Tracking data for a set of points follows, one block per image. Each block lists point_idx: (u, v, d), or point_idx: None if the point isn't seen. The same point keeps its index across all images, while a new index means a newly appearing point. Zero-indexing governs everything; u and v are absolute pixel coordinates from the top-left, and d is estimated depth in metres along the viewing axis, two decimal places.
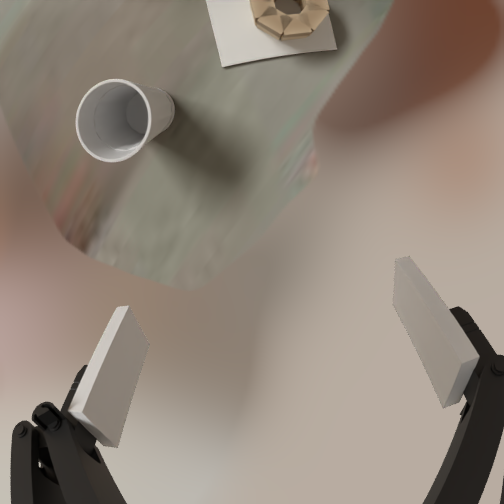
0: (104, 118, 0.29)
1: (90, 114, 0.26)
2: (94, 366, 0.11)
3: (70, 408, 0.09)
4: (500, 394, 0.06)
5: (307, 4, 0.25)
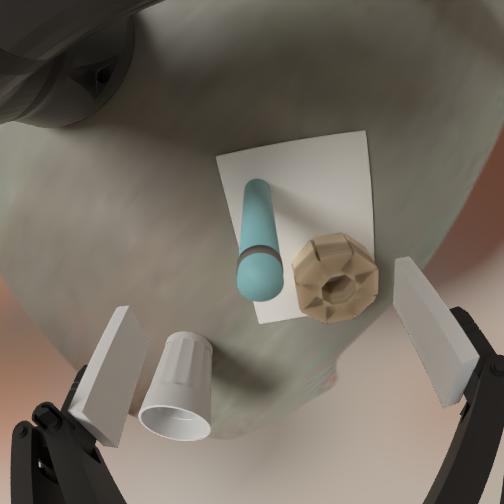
0: None
1: None
2: (94, 366, 0.11)
3: (70, 408, 0.09)
4: (500, 394, 0.06)
5: (356, 291, 0.30)
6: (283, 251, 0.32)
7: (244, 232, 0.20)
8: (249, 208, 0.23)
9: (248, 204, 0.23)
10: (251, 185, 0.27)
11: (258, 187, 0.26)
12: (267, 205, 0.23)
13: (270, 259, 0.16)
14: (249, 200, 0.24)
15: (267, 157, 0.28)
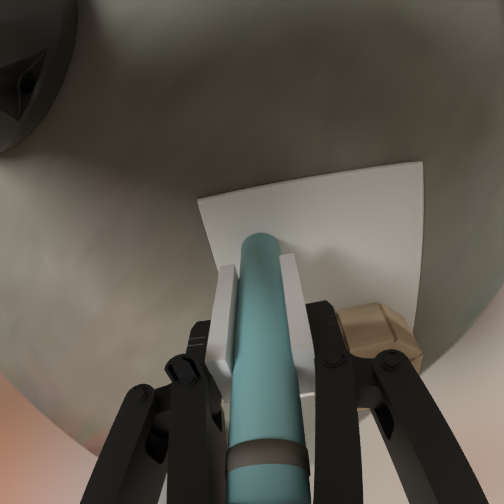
0: None
1: None
2: (220, 317, 0.13)
3: (207, 358, 0.11)
4: (342, 384, 0.09)
5: None
6: None
7: (239, 381, 0.10)
8: (248, 310, 0.13)
9: (246, 298, 0.14)
10: (252, 248, 0.18)
11: (263, 254, 0.17)
12: (279, 302, 0.14)
13: (289, 479, 0.07)
14: (248, 288, 0.14)
15: (277, 202, 0.18)
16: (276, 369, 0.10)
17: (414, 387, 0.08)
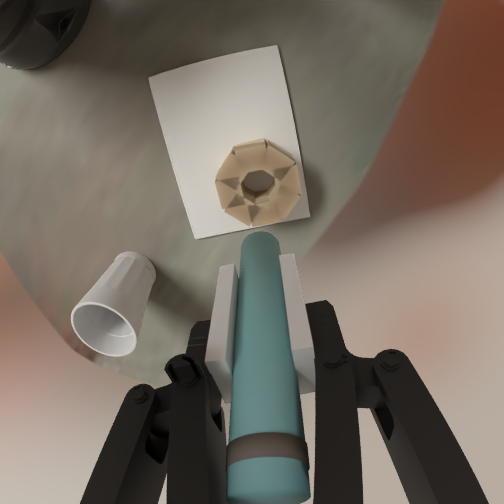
0: None
1: (81, 310, 0.32)
2: (220, 317, 0.13)
3: (207, 358, 0.11)
4: (342, 384, 0.09)
5: (277, 189, 0.31)
6: (210, 159, 0.33)
7: (239, 376, 0.10)
8: (248, 307, 0.13)
9: (247, 296, 0.14)
10: (252, 247, 0.18)
11: (263, 252, 0.17)
12: (278, 299, 0.14)
13: (288, 472, 0.07)
14: (248, 285, 0.15)
15: (190, 73, 0.29)
16: (276, 364, 0.10)
17: (414, 387, 0.08)
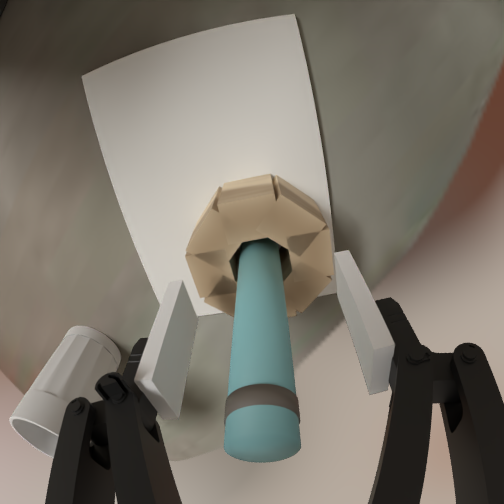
0: None
1: None
2: (157, 336, 0.12)
3: (136, 377, 0.10)
4: (421, 382, 0.08)
5: (293, 269, 0.18)
6: (181, 207, 0.21)
7: (238, 339, 0.12)
8: (247, 283, 0.15)
9: (246, 273, 0.16)
10: None
11: None
12: (274, 276, 0.15)
13: (280, 419, 0.08)
14: (247, 265, 0.16)
15: (145, 64, 0.16)
16: (270, 329, 0.12)
17: (486, 382, 0.07)
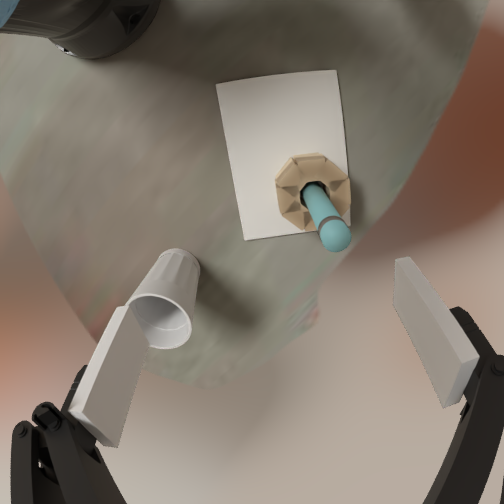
0: None
1: (132, 302, 0.34)
2: (94, 366, 0.11)
3: (70, 408, 0.09)
4: (500, 394, 0.06)
5: (331, 199, 0.34)
6: (267, 166, 0.37)
7: (317, 209, 0.28)
8: (314, 195, 0.31)
9: (312, 193, 0.32)
10: None
11: (314, 183, 0.35)
12: (325, 195, 0.32)
13: (343, 223, 0.24)
14: (311, 191, 0.32)
15: (256, 86, 0.32)
16: (331, 206, 0.28)
17: None
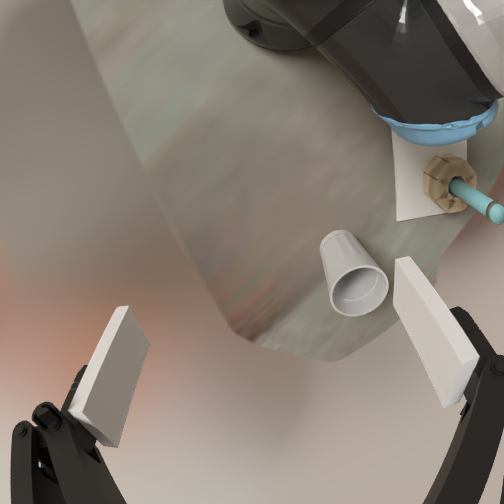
0: None
1: (332, 277, 0.40)
2: (94, 366, 0.11)
3: (70, 408, 0.09)
4: (500, 394, 0.06)
5: None
6: (419, 162, 0.41)
7: (478, 197, 0.33)
8: (466, 186, 0.36)
9: (462, 185, 0.37)
10: None
11: (454, 177, 0.40)
12: None
13: None
14: (460, 183, 0.37)
15: None
16: None
17: None
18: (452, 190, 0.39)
